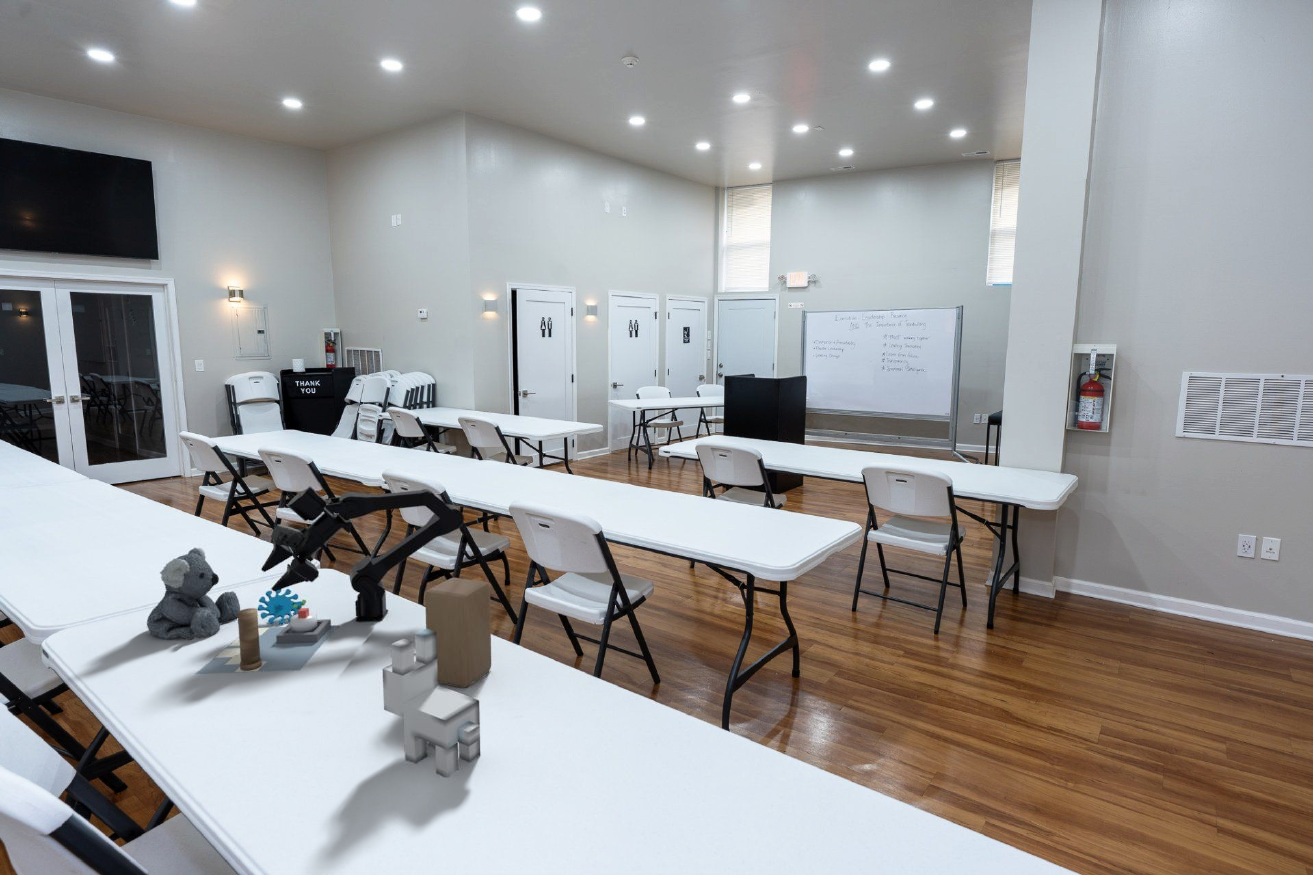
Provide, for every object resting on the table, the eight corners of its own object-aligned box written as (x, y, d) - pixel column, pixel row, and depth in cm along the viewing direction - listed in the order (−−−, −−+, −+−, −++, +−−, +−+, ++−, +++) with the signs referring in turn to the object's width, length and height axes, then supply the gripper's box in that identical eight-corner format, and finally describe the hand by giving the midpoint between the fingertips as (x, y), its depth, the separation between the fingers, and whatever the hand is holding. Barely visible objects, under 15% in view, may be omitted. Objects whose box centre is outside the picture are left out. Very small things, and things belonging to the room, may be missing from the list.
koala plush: (213, 641, 161) (207, 561, 158) (129, 645, 158) (122, 564, 155) (245, 613, 178) (240, 541, 175) (169, 617, 175) (163, 543, 172)
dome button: (320, 622, 166) (320, 604, 165) (312, 631, 160) (311, 613, 159) (296, 622, 165) (295, 605, 164) (287, 632, 159) (286, 614, 159)
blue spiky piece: (259, 624, 167) (257, 587, 172) (254, 635, 170) (252, 599, 175) (308, 619, 174) (304, 584, 179) (303, 630, 177) (299, 595, 182)
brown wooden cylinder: (265, 661, 149) (261, 607, 147) (256, 670, 145) (252, 614, 143) (245, 662, 148) (241, 608, 147) (236, 671, 144) (232, 615, 143)
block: (493, 669, 148) (491, 581, 146) (466, 690, 139) (464, 596, 137) (454, 661, 152) (452, 575, 149) (425, 682, 142) (422, 590, 140)
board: (339, 628, 169) (338, 617, 169) (300, 673, 145) (299, 660, 145) (249, 631, 166) (248, 620, 166) (195, 677, 143) (194, 664, 142)
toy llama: (458, 783, 109) (455, 665, 107) (385, 750, 118) (381, 640, 115) (491, 759, 116) (489, 647, 113) (420, 729, 124) (416, 625, 122)
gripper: (284, 498, 169) (232, 545, 165) (307, 533, 156) (251, 584, 152) (316, 522, 177) (266, 567, 172) (340, 557, 164) (288, 606, 160)
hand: (267, 580), depth 164 cm, fingers open, 9 cm apart
